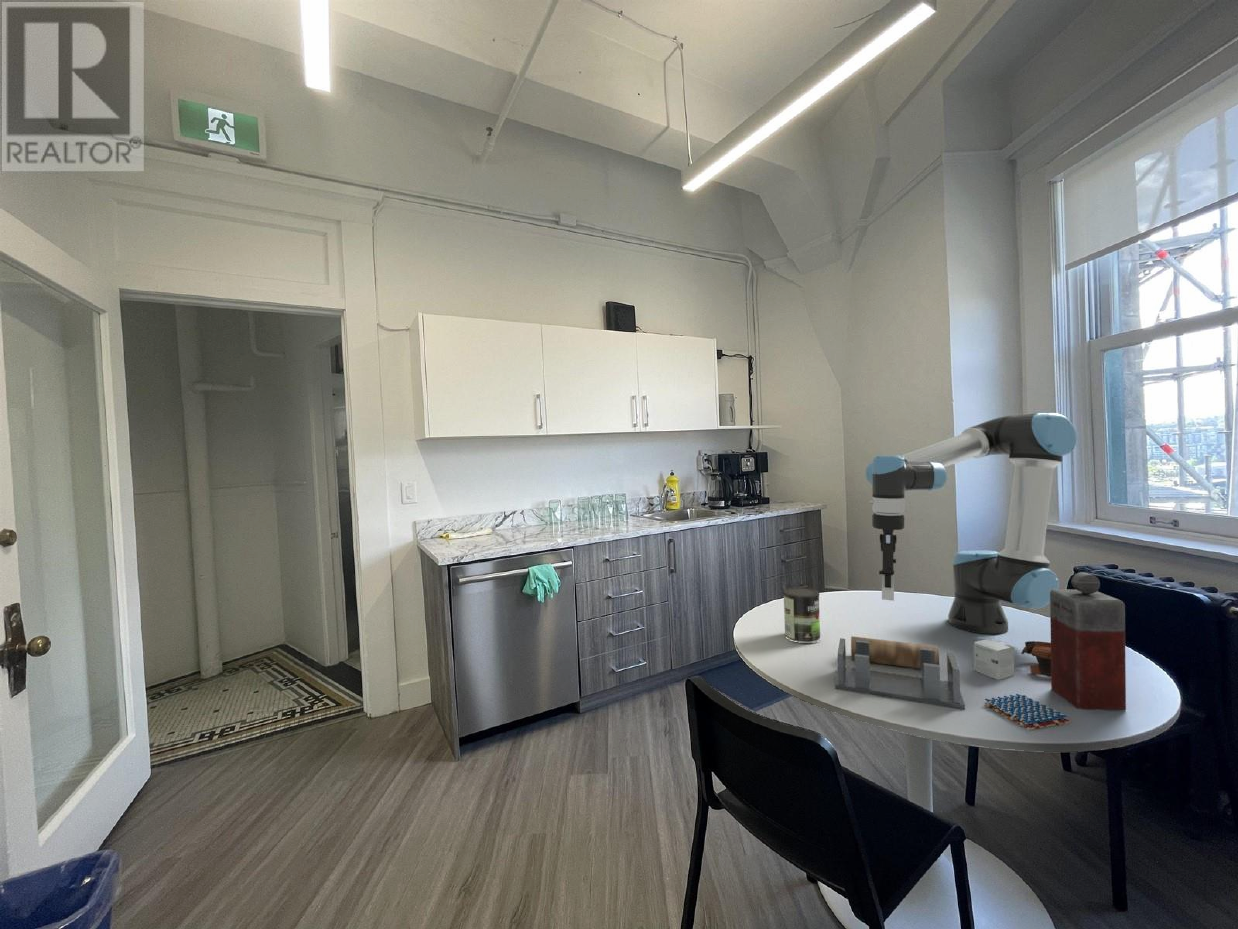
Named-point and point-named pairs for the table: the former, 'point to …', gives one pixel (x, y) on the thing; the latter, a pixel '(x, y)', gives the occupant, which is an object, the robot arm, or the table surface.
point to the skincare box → (994, 659)
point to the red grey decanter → (1088, 645)
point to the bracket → (901, 678)
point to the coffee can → (801, 614)
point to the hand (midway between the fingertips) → (887, 593)
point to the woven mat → (1027, 711)
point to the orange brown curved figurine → (1039, 656)
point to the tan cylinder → (894, 652)
